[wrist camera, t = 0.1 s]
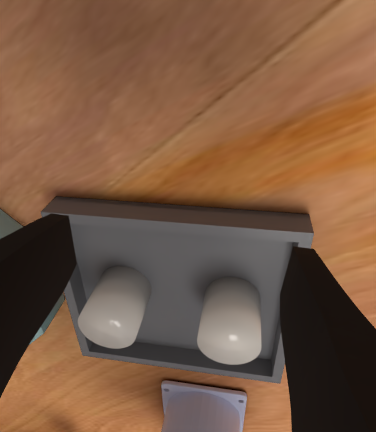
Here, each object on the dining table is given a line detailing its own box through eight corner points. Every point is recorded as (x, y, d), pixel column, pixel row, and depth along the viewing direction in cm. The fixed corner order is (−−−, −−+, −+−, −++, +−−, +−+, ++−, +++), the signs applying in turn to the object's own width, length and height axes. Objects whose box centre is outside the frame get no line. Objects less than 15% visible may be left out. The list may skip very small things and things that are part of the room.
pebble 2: (257, 319, 25) (258, 368, 22) (204, 313, 26) (197, 360, 23) (263, 280, 23) (264, 327, 20) (205, 274, 24) (196, 319, 21)
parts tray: (278, 360, 28) (280, 383, 27) (91, 336, 31) (82, 355, 29) (309, 214, 21) (313, 233, 19) (56, 196, 23) (40, 211, 21)
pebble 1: (153, 307, 27) (139, 352, 23) (104, 302, 27) (83, 344, 24) (149, 268, 24) (132, 311, 21) (96, 263, 25) (72, 304, 22)
